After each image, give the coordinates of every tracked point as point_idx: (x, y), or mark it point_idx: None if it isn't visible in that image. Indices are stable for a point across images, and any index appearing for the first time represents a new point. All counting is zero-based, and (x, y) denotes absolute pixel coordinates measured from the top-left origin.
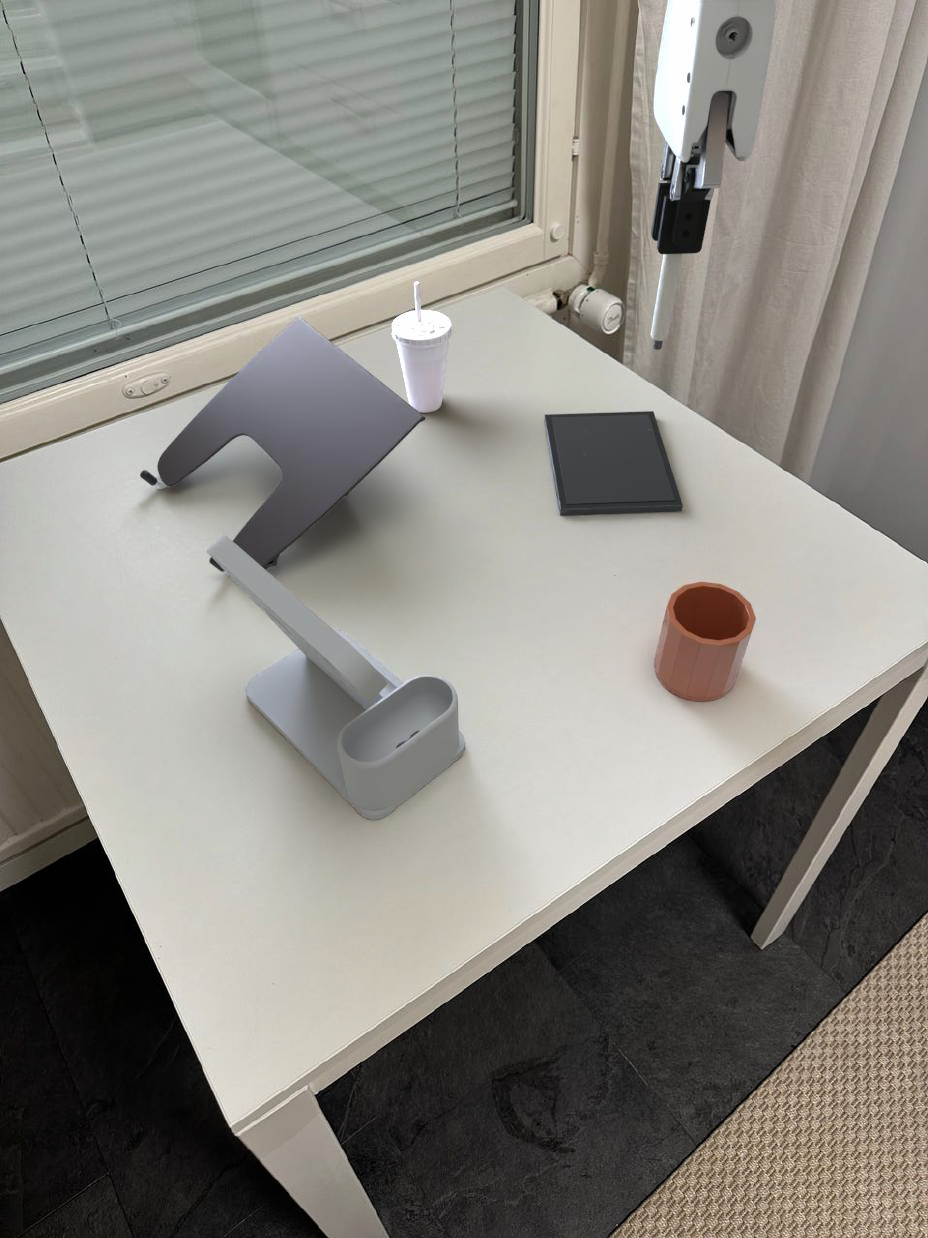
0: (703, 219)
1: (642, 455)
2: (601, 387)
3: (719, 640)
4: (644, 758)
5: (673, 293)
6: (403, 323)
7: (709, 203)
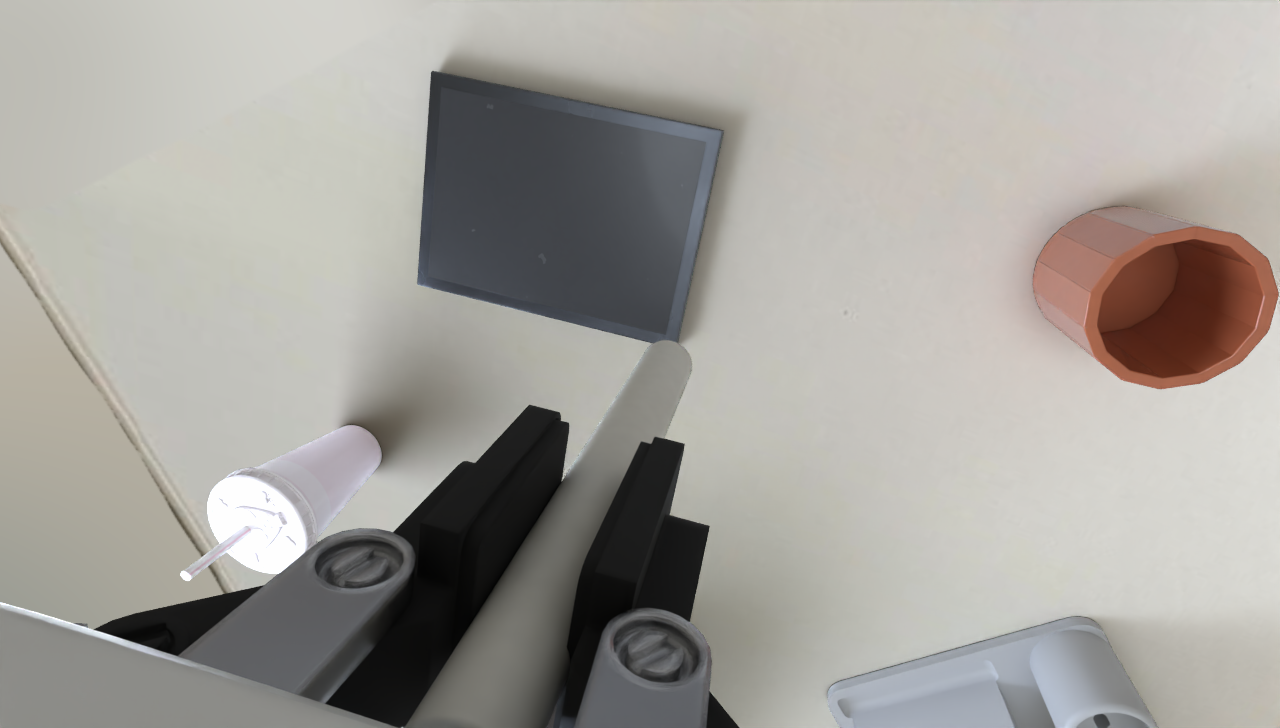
0: (657, 528)
1: (564, 151)
2: (334, 139)
3: (1255, 328)
4: (1232, 418)
5: (666, 412)
6: (252, 552)
7: (642, 563)
